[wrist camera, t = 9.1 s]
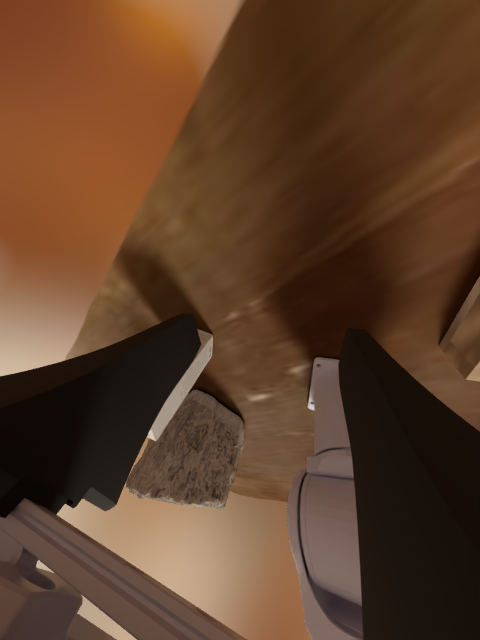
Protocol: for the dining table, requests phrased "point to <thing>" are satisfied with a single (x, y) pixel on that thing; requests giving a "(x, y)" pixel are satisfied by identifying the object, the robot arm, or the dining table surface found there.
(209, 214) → the dining table surface
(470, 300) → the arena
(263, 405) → the dining table surface
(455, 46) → the dining table surface
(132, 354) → the robot arm
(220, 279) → the dining table surface
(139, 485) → the grey brown chunky block
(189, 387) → the skincare box
